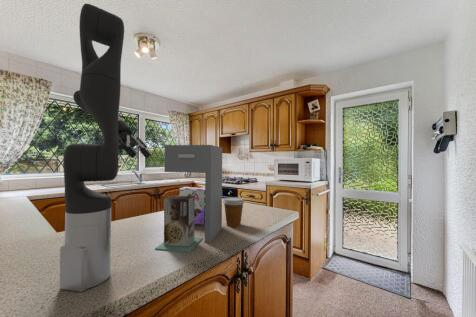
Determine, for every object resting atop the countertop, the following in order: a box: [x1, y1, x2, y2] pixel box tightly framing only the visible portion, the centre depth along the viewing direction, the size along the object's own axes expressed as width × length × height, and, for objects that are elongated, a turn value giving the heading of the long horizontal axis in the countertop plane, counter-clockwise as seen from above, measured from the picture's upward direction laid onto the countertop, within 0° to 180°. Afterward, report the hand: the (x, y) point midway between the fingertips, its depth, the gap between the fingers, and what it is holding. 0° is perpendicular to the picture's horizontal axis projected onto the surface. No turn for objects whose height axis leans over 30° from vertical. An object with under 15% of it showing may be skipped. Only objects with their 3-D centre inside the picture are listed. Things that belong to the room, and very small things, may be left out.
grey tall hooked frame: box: [164, 144, 223, 244], centre depth 84 cm, size 17×18×35 cm
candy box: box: [178, 186, 205, 226], centre depth 100 cm, size 14×6×16 cm, turn 73°
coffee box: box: [163, 195, 195, 247], centre depth 74 cm, size 9×6×16 cm
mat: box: [154, 236, 203, 253], centre depth 74 cm, size 12×12×1 cm
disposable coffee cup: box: [222, 196, 245, 228], centre depth 96 cm, size 10×10×12 cm
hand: (142, 156), depth 79 cm, fingers open, 8 cm apart
